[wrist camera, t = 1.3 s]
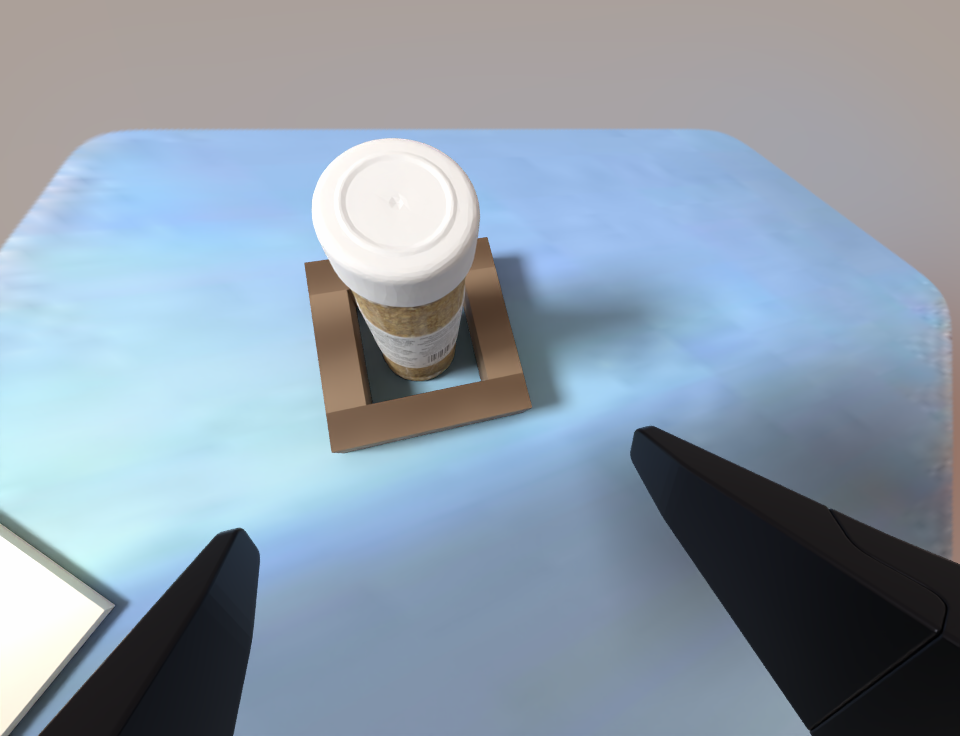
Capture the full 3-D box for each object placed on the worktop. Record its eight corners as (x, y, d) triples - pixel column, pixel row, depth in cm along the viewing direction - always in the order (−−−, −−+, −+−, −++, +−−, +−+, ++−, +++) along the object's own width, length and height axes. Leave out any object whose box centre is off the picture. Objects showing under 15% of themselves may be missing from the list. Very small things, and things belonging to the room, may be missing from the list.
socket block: (521, 412, 22) (532, 407, 20) (343, 453, 21) (331, 452, 18) (482, 258, 25) (487, 237, 22) (318, 283, 23) (304, 262, 20)
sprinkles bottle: (430, 300, 24) (425, 107, 11) (469, 358, 23) (515, 229, 10) (367, 336, 22) (273, 170, 9) (406, 398, 22) (363, 310, 9)
